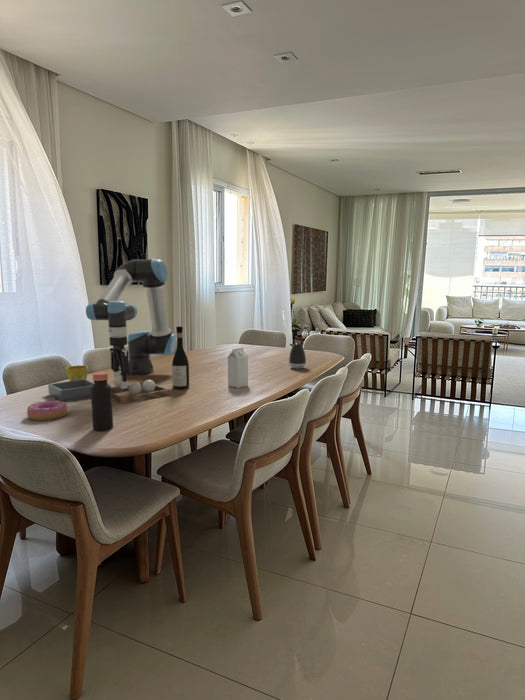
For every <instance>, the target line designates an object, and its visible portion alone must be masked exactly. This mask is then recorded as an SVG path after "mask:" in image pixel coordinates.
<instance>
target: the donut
mask: <svg viewBox="0 0 525 700" xmlns="http://www.w3.org/2000/svg"><path fill="white" fill-rule="evenodd" d="M68 411H69V410H68V405H67V402H65V401H64V402H62V401H59V400H57V399H56V400H47V401H46V400H44V401H39V402H35V403H32V404H30V405H29V406H28V407H27V412H26V413H27V417H28V419H29V420H31V421H37V422H43V421H47V422H48V421H51V420H52V421H53V420H57V419H61V418H63V417H65V416H66V415H67V413H68Z"/></svg>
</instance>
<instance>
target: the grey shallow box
mask: <svg viewBox="0 0 525 700" xmlns="http://www.w3.org/2000/svg"><path fill="white" fill-rule="evenodd" d="M47 385H48V386H47V387H48V395H49V394H50V395H51V397H52V396H53V397H52V398H54V397H55V398H54V399H56V400H57V399H58V400H57V401H62V402H64V403H65V402H69V401H75V400H81V399H82V398H83V399H88V397H89V398H91V387H92V386H93V385H94V381H91V380H89V379H87V378H86V379H82V380H75V381H69V380H68V381H62V382H60V381H59V382H53V383H48V384H47ZM50 395H49V396H50Z"/></svg>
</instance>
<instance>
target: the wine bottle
mask: <svg viewBox="0 0 525 700" xmlns="http://www.w3.org/2000/svg"><path fill="white" fill-rule="evenodd" d="M175 329H176V345H177V346H176V348H175V353H174V356H173V359H172V363H171V370H172V372H171V373H172V374H171V375H172V387H173V388H174V389H177V390H183V389H184V390H186V389H188V388H189V387H190V365H189V359H188V356H187V354H186V352H185V348H184V342H183V340H184V339H183V331H184V329H183V326H176V327H175Z"/></svg>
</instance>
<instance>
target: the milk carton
mask: <svg viewBox="0 0 525 700" xmlns="http://www.w3.org/2000/svg"><path fill="white" fill-rule="evenodd" d="M231 350H232V351H231V352H230V353H229V354H228V355H227V386H228V387H232V388H237V389H239V388H243V387H244V388H245V387H248V386H249V356H248V354H247V353H246V352H245V350H244V347H237V348H232V349H231Z"/></svg>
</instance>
